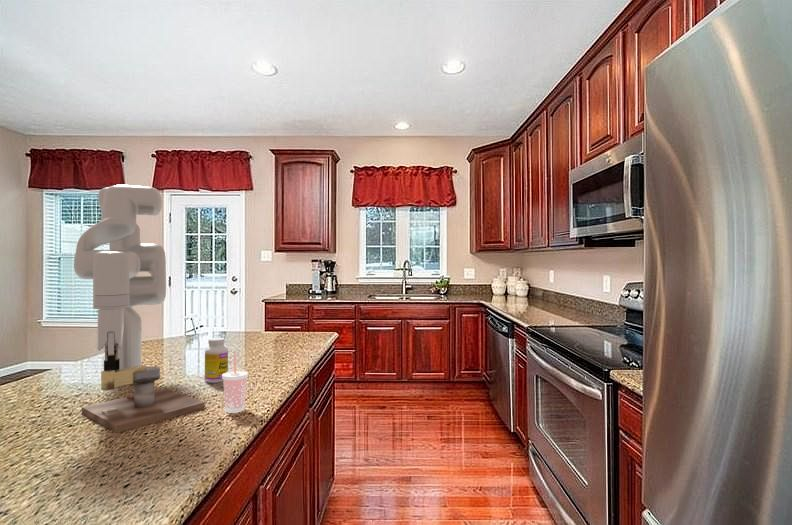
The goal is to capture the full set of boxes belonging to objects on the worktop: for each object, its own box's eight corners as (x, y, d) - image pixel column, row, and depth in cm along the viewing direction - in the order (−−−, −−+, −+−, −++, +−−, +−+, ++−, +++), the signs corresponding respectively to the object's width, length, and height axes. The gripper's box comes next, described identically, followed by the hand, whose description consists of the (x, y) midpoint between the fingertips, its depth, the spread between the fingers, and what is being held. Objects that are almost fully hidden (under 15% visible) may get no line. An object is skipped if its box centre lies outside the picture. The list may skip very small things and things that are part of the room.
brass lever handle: (110, 392, 99) (110, 374, 99) (93, 387, 103) (93, 370, 103) (165, 378, 111) (165, 362, 111) (149, 375, 114) (149, 359, 114)
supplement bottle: (219, 384, 133) (219, 341, 133) (199, 382, 135) (200, 340, 134) (232, 378, 140) (232, 337, 140) (213, 377, 141) (213, 336, 141)
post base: (81, 413, 108) (81, 384, 108) (165, 393, 124) (165, 368, 124) (116, 432, 96) (116, 400, 96) (204, 408, 112) (204, 380, 112)
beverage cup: (232, 415, 107) (232, 357, 106) (216, 411, 110) (216, 354, 110) (253, 408, 112) (253, 352, 112) (237, 404, 115) (237, 350, 115)
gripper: (95, 299, 114) (95, 370, 114) (90, 305, 101) (91, 386, 101) (129, 298, 118) (129, 367, 118) (129, 304, 105) (129, 381, 105)
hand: (111, 375), depth 110 cm, fingers closed
